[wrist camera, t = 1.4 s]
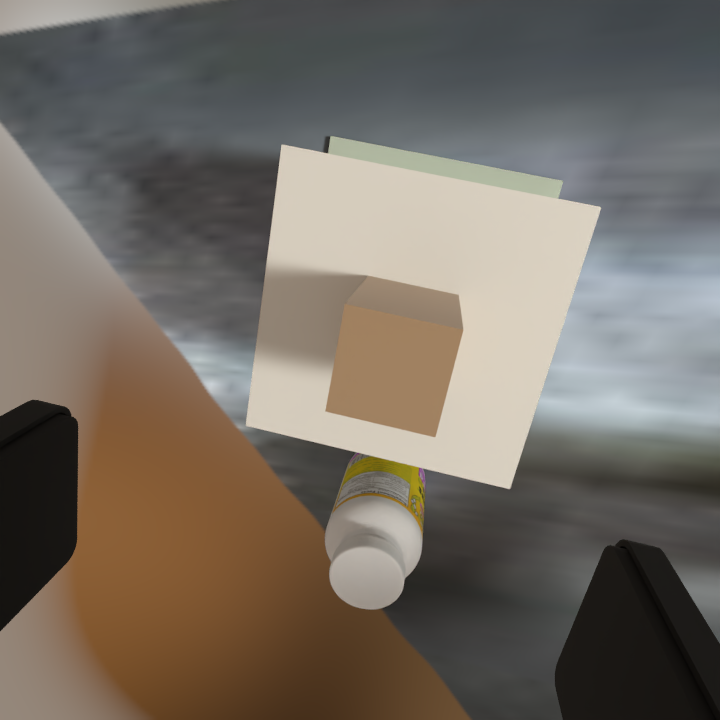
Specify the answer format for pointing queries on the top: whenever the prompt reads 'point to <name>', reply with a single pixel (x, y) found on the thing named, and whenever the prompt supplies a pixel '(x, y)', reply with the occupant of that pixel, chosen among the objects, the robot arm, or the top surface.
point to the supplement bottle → (375, 530)
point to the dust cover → (411, 312)
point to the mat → (445, 167)
